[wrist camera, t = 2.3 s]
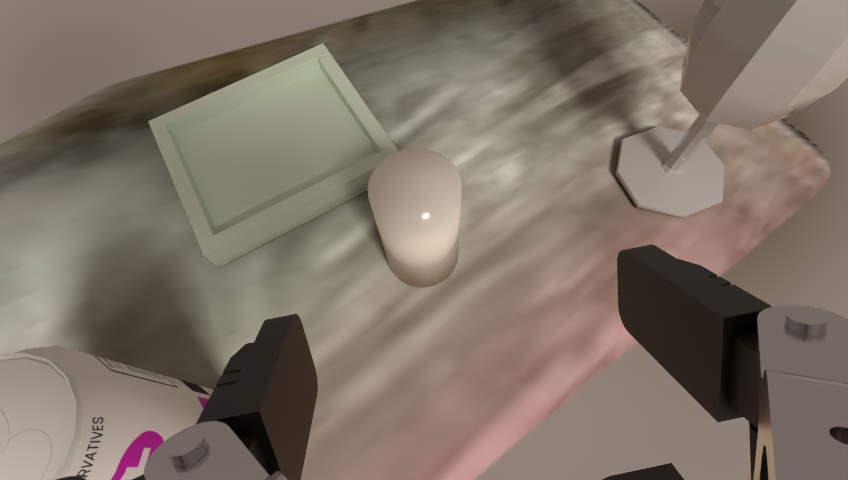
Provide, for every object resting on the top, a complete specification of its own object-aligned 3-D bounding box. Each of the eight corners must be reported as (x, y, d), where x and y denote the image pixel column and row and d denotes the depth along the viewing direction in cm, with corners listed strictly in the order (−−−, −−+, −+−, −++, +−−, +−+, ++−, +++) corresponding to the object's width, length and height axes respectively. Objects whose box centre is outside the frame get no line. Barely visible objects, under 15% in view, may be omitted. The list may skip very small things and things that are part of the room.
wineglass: (704, 129, 40) (933, -163, 21) (736, 218, 37) (1047, -40, 18) (603, 134, 41) (740, -149, 22) (624, 223, 37) (812, -26, 18)
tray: (218, 267, 37) (203, 255, 35) (164, 139, 43) (148, 121, 40) (403, 171, 40) (400, 154, 38) (329, 63, 46) (322, 43, 43)
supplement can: (270, 447, 31) (132, 440, 18) (166, 551, 29) (-86, 637, 15) (202, 362, 34) (36, 299, 20) (102, 452, 31) (-161, 449, 18)
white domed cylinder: (409, 300, 35) (396, 246, 26) (375, 243, 37) (351, 174, 28) (471, 264, 36) (479, 199, 27) (434, 210, 38) (430, 134, 29)
